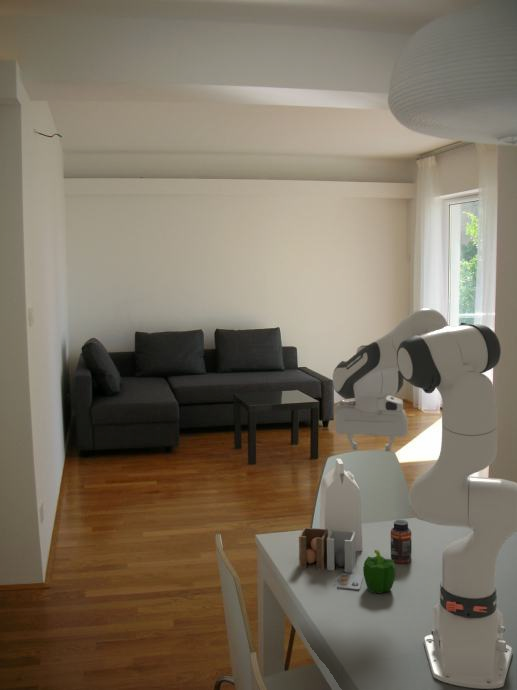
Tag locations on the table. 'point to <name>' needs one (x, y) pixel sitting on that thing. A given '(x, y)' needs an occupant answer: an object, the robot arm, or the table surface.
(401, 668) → the table surface
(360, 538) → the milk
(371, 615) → the table surface
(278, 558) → the table surface
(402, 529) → the supplement bottle
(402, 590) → the table surface
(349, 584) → the card
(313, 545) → the loose ball
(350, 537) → the grey tube
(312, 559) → the tube ball terracotta
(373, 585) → the bell pepper
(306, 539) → the walnut tube
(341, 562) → the tube ball charcoal
